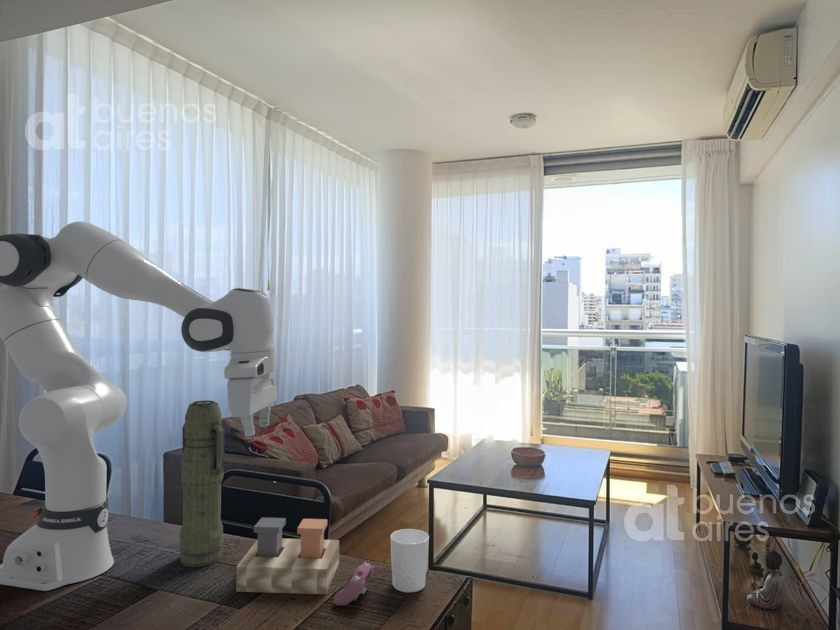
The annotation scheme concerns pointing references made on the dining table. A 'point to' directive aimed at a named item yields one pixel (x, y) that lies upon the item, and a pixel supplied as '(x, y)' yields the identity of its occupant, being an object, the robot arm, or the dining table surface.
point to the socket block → (288, 570)
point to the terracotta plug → (312, 537)
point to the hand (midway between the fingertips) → (257, 430)
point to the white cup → (409, 559)
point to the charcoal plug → (269, 536)
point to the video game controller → (354, 585)
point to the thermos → (202, 485)
